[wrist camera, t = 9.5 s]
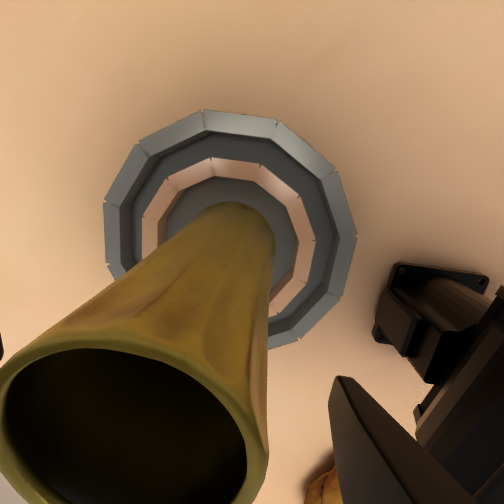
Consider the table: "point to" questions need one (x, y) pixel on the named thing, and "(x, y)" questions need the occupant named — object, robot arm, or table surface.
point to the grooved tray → (243, 191)
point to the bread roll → (324, 490)
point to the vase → (152, 378)
